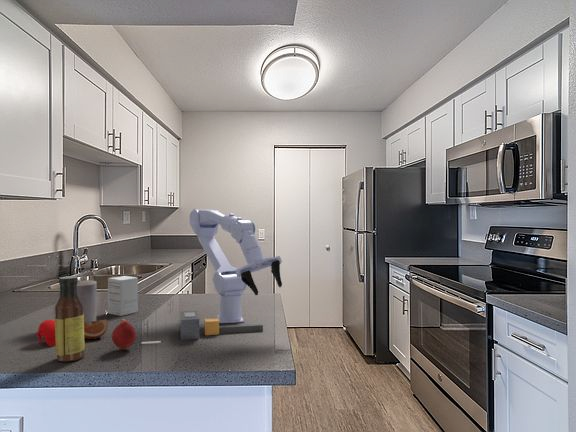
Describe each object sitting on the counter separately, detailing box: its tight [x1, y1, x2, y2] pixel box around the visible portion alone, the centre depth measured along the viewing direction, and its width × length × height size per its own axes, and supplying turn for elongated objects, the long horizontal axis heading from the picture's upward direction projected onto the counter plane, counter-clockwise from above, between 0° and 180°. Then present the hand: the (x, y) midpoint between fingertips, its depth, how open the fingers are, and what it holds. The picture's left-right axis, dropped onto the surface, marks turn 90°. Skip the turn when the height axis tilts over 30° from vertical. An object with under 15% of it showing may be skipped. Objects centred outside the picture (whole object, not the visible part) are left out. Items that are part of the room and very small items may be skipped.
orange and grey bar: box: [203, 317, 264, 336], centre depth 128 cm, size 18×4×4 cm, turn 105°
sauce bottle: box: [54, 275, 85, 363], centre depth 103 cm, size 6×6×20 cm
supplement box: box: [107, 275, 139, 317], centre depth 151 cm, size 7×7×13 cm
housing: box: [179, 310, 200, 341], centre depth 125 cm, size 11×5×6 cm, turn 15°
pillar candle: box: [77, 278, 98, 323], centre depth 133 cm, size 10×10×15 cm
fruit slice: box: [84, 319, 109, 340], centre depth 120 cm, size 8×7×5 cm
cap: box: [35, 319, 56, 347], centre depth 115 cm, size 8×6×6 cm
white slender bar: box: [140, 340, 162, 345], centre depth 116 cm, size 1×5×1 cm, turn 105°
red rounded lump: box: [111, 318, 137, 351], centre depth 110 cm, size 6×6×8 cm
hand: (268, 289), depth 126 cm, fingers open, 7 cm apart
